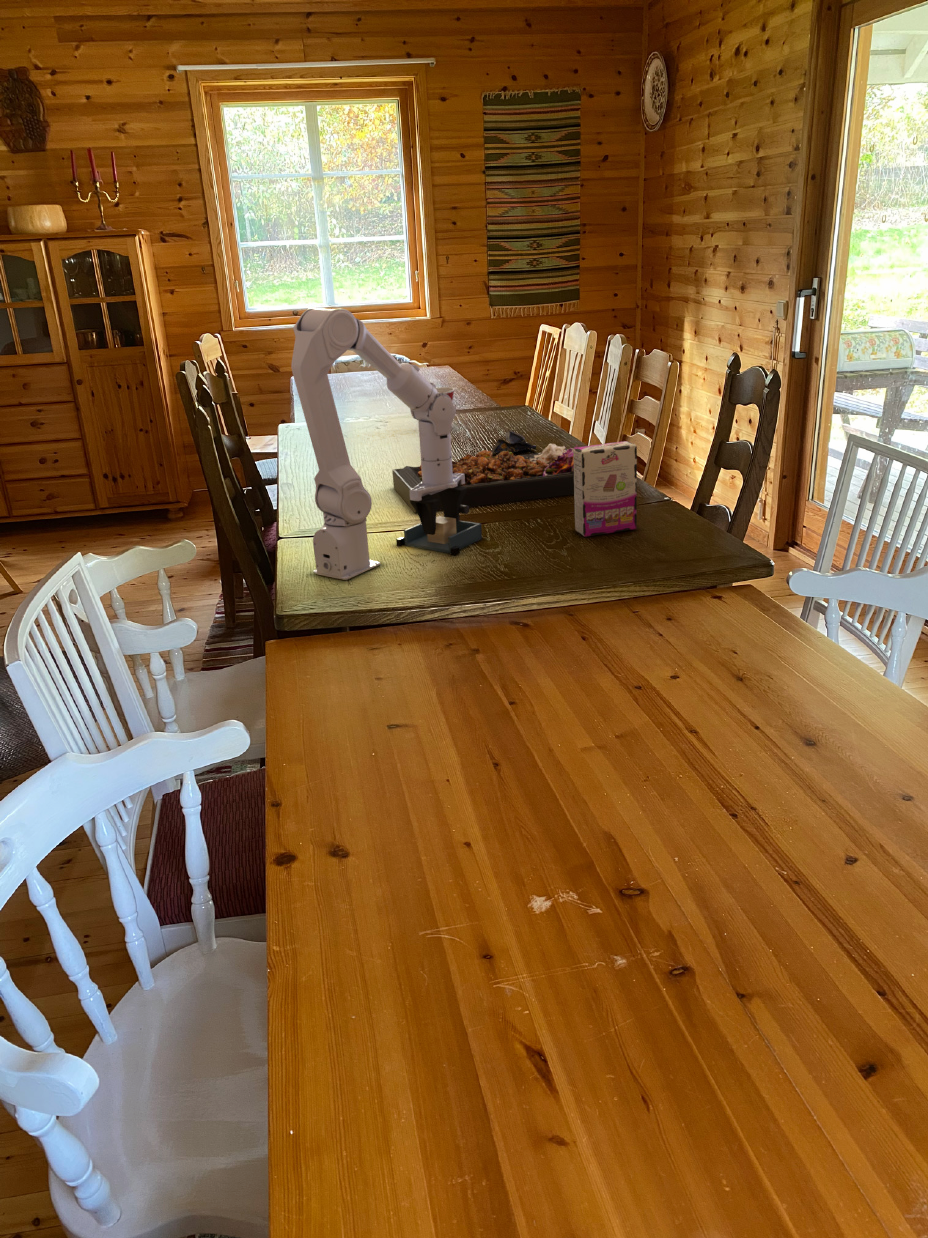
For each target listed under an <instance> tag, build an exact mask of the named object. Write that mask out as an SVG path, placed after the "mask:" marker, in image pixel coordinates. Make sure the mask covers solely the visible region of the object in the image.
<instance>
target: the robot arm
mask: <svg viewBox="0 0 928 1238" xmlns="http://www.w3.org/2000/svg"><path fill="white" fill-rule="evenodd" d="M292 329H293V333H294V337H295V339H294V345H293V351H292V358H291V365H290V367H291V372H292V376H293V378H294V383H295V387H296V391H297V395H298V398H299V402H300V405H301V408H302V409H301V410H302V413H303V416H304V421H305V423H306V427H307V431H308V434H309V439H310V442H311V445H312V448H313V452H314V456H315V460H316V463H317V467H318V472H317V473H316V474H315V476H314V478H313V479H314V484H315V493H314V502H315V505H316V507H317V508H318V510H319V511H320V512H322V516H323V522H324V523H323V525H322V526H321V528H320V529H318V530H317V531H315V532H314V534H313V538H312V548H313V553H314V554H313V555H314V563H315V569H314V570H313V574H314V575H319V576H322V577H323V576H324V577H328V578H333V579H339V580H343V581H348V580H351V579H352V578H354V577H356V576H359V575H361V574H363V573H365V572H368V571H369V570H372V569H374V568H376V567H379V566H380V565H381V562H380V561H377V560H371V559H370V551H369V539H368V530H367V529H368V528H367V517H368V516H369V515H370V513H371V509H372V505H373V503H372V501H373V500H372V497H371V494H370V492H369V491H368V490H367V489H366V488H365V486H364V485H363V481H362V478H361V476H360V475H359V473H358V471H356V470H355V468H354V467H353V465H352V464H351V461H350V457H349V453H348V449H347V445H346V441H345V437H344V434H343V430H342V426H341V422H340V418H339V414H338V410H337V407H336V403H335V402H336V401H335V398H334V394H333V391H332V388H331V387H332V386H331V384H330V383H331V382H330V379H329V376H328V375H329V371H330V370H331V368H332V366H333V365H334V363H335V362H336V361H337V360H338V359H340V358H341V357H342V356H343V355H344V354H345V353H346V352H348V351H351V352H354V353H355V354H356V355H358V357H360V358H361V359H362V360H364V361H365V362H366V363H367V364H368V365H370V367H372V368H373V369H374V370H376V371H377V372H378V373H380V374H381V376H383V377H384V378H386V387H387V389H388V390H389V391H390V392H391V393H392V394H393V395H394V396H395V397H396V398H398V399H399V400H400V401H401V402H402V403H403V404H404V405H405V406H406V407H408V408H409V411H410V414H411V417H412V418H413V419H414V420H417V421H418V422H417V423H418V437H419V451H420V453H419V454H420V465H421V469H422V482H421V483H420V484H418V485H417V486H416V487H414V488H413V489H410V503H411V504H412V506H413V507H414V509H415V510H416V512H417V517H418V518H419V521H420V523H421V524H422V527H423V530H424V533H425V534H430V535H434V534H435V532H436V517H437V513H438V511H437V508H438V504H439V502H440V500H437V499H432V497H431V495H432V494H435V493H437V492H439V495H440V498H441V501H442V505H443V517H449V518H456V523H457V518H458V513H459V509H460V505H461V502H462V499H463V497H464V495H465V493H466V487H462V486H460V485H462V484H465V475H464V474H462V473H454V474H453V471H452V461H453V457H452V437H451V431H452V430H453V426H452V425H453V420H454V419H455V416H456V413H457V406H455V405H454V402H453V401H452V400H451V398H450V397H449V396H448V395H447V394H445V393H440V392H437V389H436V388H437V385H436V384H435V382H430V381H429V380H427V378H426V377H424V376H423V374H421V373H420V370H421V368H420V367H419V366H418V365H417V364H411V363H408V362H403V363H400V362H399V361H398V360H397V359H396V358H395V357H394V356H393V354H391V353H390V352H389V351H388V349H386V347H385V346H384V345H382V343H381V342H380V341H379V340H378V339H377V338H376V337H375V336H374V335H373V334H372V333H371V332H370V331H369V330H368V328H367V327H366V325H365V323H364V322H363V321H362V320H360V319H359V318H357V317H355V315H354V314H353V312H351V311H350V310H347V309H345V308H340V307H339V308H332V309H331V308H319V307H310V308H307V309H306V310H304V311H303V312H302V314H301V315H300V316H299V317H298V319H297V321H296V323H295V324H294V326H293V328H292ZM459 514H460V513H459Z"/></svg>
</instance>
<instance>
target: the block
mask: <svg viewBox="0 0 928 1238" xmlns="http://www.w3.org/2000/svg"><path fill="white" fill-rule="evenodd" d="M456 533H457V532H456V518H449V517H444V516H441V515H438V516H436V532H435V534H434V535H430V534H427V538H428V542H434V543H440V544H446V543H448V537H450V536H452V535H454V534H456Z"/></svg>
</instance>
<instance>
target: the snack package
mask: <svg viewBox="0 0 928 1238" xmlns="http://www.w3.org/2000/svg"><path fill="white" fill-rule="evenodd" d="M504 437H505V440H504V439H501V438H499V439H497V441H496V443H495V445H494V446H493V447H492V449H491V450H490V451H491V452H492V456H493V455H494V454H499V453H501V452H502V451H508V452H512V453H516V452H522V451H524V450H527V449H529V451H532V450H536V449H537V445H533V444H531V443H529V442H527V441H526V439H525V437H524V435H521V434H520V433H517V432H515V431H511V430H508V431H507V432H506V434H505V436H504ZM533 454H536V453H535V451H534V452H533Z"/></svg>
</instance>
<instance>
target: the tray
mask: <svg viewBox="0 0 928 1238" xmlns="http://www.w3.org/2000/svg"><path fill="white" fill-rule="evenodd" d="M469 513H470V507H468V506H466V505H460V509H459V513H458V518H457V523H456V532H457V533H456V534H454V535H452V536H450V537H448V543H446V544H440V543H434V542H428V538H427V534H425V533H424V530H423V527H422V524H421V522H420V523H418V524H415V525H413V526H410V527H408V528H406V529H404V530H403V537H404V539H405V545H404V546H406V547H411V548H417V549H422V550H427V551H433V552H439V553H445V554H451V549H450V548H452V547H454V546H459V547H460V550H462V549H464V548H466V547H468V546H470V545H473V544H474V543H477V542H478V541H481V540H482V539H483V532H482V529H483V528H482V523H481V522H480V523H479V522H474V521H473V522H472V521H467V520H461V515H460V514H463V515H467V514H469Z"/></svg>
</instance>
